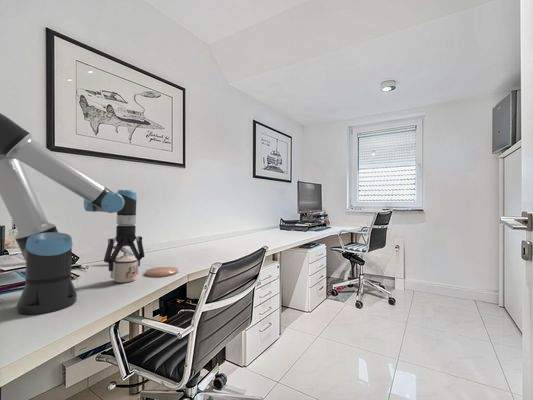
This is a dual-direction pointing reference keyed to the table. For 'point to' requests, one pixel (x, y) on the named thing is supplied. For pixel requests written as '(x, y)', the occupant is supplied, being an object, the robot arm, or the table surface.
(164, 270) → the dish
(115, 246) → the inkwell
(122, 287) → the table surface
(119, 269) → the teacup with lid
